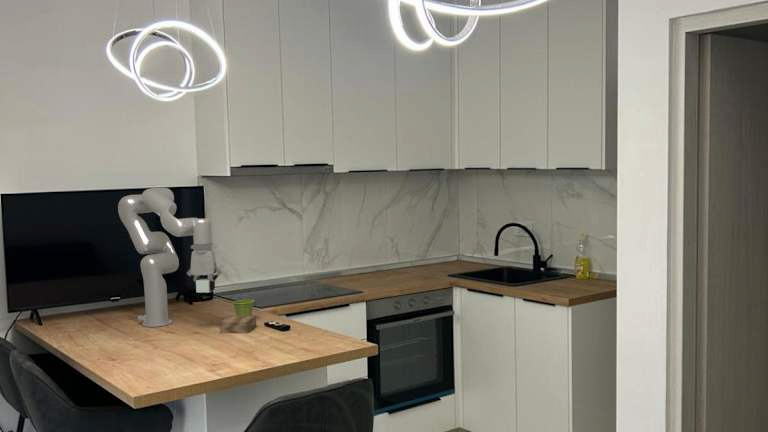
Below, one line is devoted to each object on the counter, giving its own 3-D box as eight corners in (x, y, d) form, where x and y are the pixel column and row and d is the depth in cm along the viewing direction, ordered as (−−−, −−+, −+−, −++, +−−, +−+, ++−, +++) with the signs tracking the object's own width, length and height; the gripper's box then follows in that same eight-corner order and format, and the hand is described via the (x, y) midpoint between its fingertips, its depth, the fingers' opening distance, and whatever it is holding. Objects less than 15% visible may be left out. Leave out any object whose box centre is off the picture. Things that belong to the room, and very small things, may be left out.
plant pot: (243, 323, 323) (242, 304, 323) (229, 321, 329) (228, 302, 328) (259, 319, 331) (258, 300, 330) (245, 317, 336) (244, 299, 336)
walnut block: (219, 334, 304) (219, 322, 304) (229, 327, 316) (229, 316, 316) (247, 334, 303) (247, 322, 302) (256, 327, 315) (255, 316, 314)
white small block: (196, 292, 308) (195, 280, 308) (201, 290, 313) (200, 278, 313) (208, 292, 307) (208, 280, 307) (213, 290, 313) (213, 278, 312)
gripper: (180, 249, 307) (182, 292, 308) (219, 248, 304) (221, 291, 305) (187, 247, 314) (189, 289, 315) (225, 246, 312) (227, 288, 313)
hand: (205, 289), depth 310 cm, fingers closed on white small block, 5 cm apart
